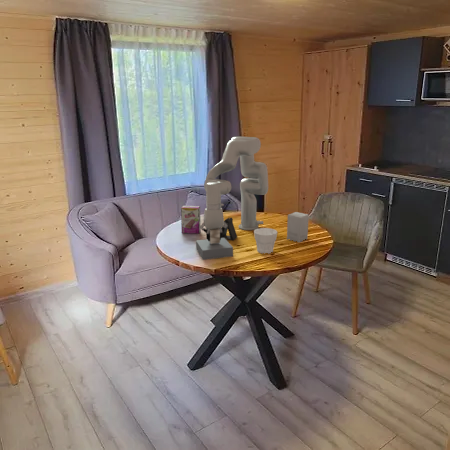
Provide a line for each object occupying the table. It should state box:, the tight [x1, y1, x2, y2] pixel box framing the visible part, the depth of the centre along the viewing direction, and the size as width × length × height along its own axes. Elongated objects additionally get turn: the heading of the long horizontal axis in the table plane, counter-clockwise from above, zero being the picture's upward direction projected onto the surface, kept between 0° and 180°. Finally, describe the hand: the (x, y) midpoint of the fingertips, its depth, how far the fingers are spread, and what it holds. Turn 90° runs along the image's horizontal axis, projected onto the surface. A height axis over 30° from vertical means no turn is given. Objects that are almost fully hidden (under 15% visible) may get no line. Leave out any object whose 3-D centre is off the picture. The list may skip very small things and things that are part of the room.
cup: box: [253, 227, 278, 255], centre depth 218 cm, size 12×12×11 cm
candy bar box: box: [180, 205, 202, 235], centre depth 247 cm, size 11×5×16 cm, turn 84°
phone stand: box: [222, 216, 238, 241], centre depth 238 cm, size 9×6×12 cm, turn 66°
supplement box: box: [286, 211, 310, 243], centre depth 236 cm, size 9×9×15 cm
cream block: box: [209, 228, 220, 244], centre depth 214 cm, size 5×5×7 cm
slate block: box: [195, 238, 234, 260], centre depth 216 cm, size 16×16×5 cm
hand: (214, 239), depth 215 cm, fingers open, 5 cm apart
